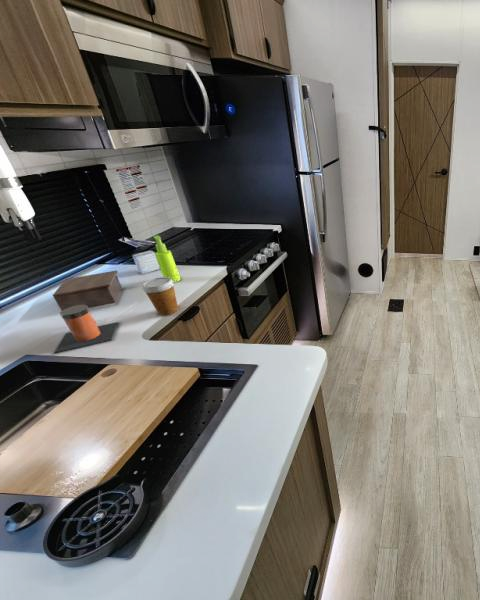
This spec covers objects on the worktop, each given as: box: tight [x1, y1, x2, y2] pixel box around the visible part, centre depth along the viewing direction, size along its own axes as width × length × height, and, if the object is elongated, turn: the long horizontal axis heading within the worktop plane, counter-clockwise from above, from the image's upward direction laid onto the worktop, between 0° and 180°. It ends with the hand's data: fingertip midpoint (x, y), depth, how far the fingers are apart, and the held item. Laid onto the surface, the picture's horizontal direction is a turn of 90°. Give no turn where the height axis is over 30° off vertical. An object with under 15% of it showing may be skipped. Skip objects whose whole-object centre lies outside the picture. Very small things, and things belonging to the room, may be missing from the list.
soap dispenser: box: [152, 235, 182, 283], centre depth 143 cm, size 6×7×20 cm
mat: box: [54, 321, 119, 354], centre depth 108 cm, size 14×12×1 cm
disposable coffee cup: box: [141, 276, 179, 316], centre depth 120 cm, size 10×10×12 cm
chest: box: [53, 274, 123, 312], centre depth 129 cm, size 16×16×7 cm
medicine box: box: [131, 250, 161, 275], centre depth 155 cm, size 8×4×9 cm, turn 144°
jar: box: [59, 305, 101, 342], centre depth 106 cm, size 7×7×10 cm
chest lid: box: [52, 269, 118, 298], centre depth 127 cm, size 16×16×1 cm
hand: (34, 240), depth 112 cm, fingers closed
